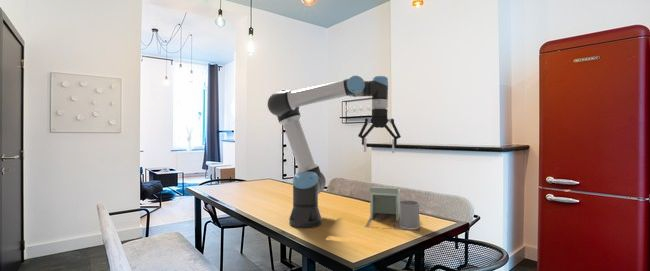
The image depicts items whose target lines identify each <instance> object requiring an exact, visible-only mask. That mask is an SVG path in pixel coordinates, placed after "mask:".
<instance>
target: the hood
mask: <svg viewBox="0 0 650 271" xmlns="http://www.w3.org/2000/svg"><path fill="white" fill-rule="evenodd" d="M369 188H370V190H369V191H370V194H369V196H370V198H369V200H370V208H369V210H370V211H369V212H370V214H369V215H370V216H369V218H370V219H373V217H374V215H375V213H384V214H396V221H398V220H399V211H400V201H401V200H400V198H401V196H400V193H401V190H400V189H399V187H398V188H397V187H384V186H383V187H382V186H381V187H380V186H370V187H369Z"/></svg>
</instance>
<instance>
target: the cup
mask: <svg viewBox="0 0 650 271" xmlns="http://www.w3.org/2000/svg"><path fill="white" fill-rule="evenodd" d="M419 219H420V202H418V201H415V200H400V211H399V225H400V226H401V227H405V228H418V227H419Z"/></svg>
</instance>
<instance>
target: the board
mask: <svg viewBox="0 0 650 271" xmlns="http://www.w3.org/2000/svg"><path fill="white" fill-rule="evenodd" d="M372 221H376V222H377V221H380V222H391V223H393V222H394V223H395V224H394V230H396V231H397V230H398V231H410V232H421V223H420V221H421V220H420V218H419V228H418V229H404V228H401V227H400V226H399V220H398V221H396V214H384V213H375V215H374V217H373V219H370V217H369V219H368V220H367V222H366V225H365V226H364V227H365V228H370V225H371V223H372ZM371 228H372V229H378V226H377V227H375V226H371ZM384 229H385V230H391V228H388V227H386V228H385V227H383V230H384Z"/></svg>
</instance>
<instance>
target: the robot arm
mask: <svg viewBox="0 0 650 271" xmlns="http://www.w3.org/2000/svg"><path fill="white" fill-rule="evenodd" d="M388 80H389V79H388V77H387V76H385V75H376V76H373V77H372V79H371V80H364V79H363V77H361V76H359V75H352V76H350V77H349V78H346V79H340V80H337V81H332V82H328V83H325V84H320V85H316V86H311V87H307V88H301V89H298V90H294V91H292V90H291V89H288V90H284V91H278V92H275V93H272V94H271V95H270V96H269V98H268V100H267V108H268V111H269V112H270V113H271V114H272V115H274V116H275V117H277V121H278V123H279V124H280V125H282V126H283V128H284V131H285V134H286V137H287V140H288V142H289V146H290V148H291V151H292V154H293V156H294V159H295V163H296V165H297V168H298V170H297V173H295V174H294V175H293V177H292V209H291V212H290V215H289V218H288V221H289V225H290V226H292V227H294V228H295V227H296V228H300V229H301V228H304V229H307V228H314V227H319V226H320V225H322V223H323V222H322V220H323V219H322V215H321V212H320V209H319V202H318V201H319V195H320V193H322V192H323V191H324V189H325V188H326V184H327V183H326V182H327V181H326V177H325V175H324V173H323V172H322V171H321V169H320V166H319V165H318V164H316V163H315V161H314V159H313V156H312V153H311V149H310V147H309V145H308V142H307V139H306V138H307V137H306V136H305V134H304V131H303V127H302V124H301V121H300V118H301V113H300V107H303V106H309V105H312V104H317V103H321V102H326V101H329V100H334V99H340V98H343V97H347V96H348V97H354V98H356V97H372V98H371V108H372V109H371V118H365V119H364V123H363V125H362V128H361V129H360V132H359V133H358V135H357V136H358V138H361V145H362V146H363V152H364V153H366V152H367V138H366V137H367V136H368V135H369V134H370V133H371V131H372V130H373V129H374V128H375V129H377V128H379V129H382V128H383V129H384V128H385V130H386V131H387V132H388V133H389V134H390V136H391V137H392V141H391V143H392V144H391V154H394V153H395V147H397V143H398V142H397V141H398V139H400V138H401V137H402V136H401V134H400V132H399V130H398V128H397V125H396V124H395V119H394V118H388V113H389V112H388V110H389V109H387V108H388V103H389V100H388V98H389V97H388V96H389V81H388ZM370 123H371V124H372V125H370V127H369V128H368V129H367V126H368V124H370ZM388 123H389V124H391V126H392V128H393V130H394V132H393V131H392V130H391V128H390V127H389V126H388V125H387V124H388ZM366 129H367V130H366ZM365 130H366V131H365ZM364 132H365V133H364ZM395 134H396V135H395Z"/></svg>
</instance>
